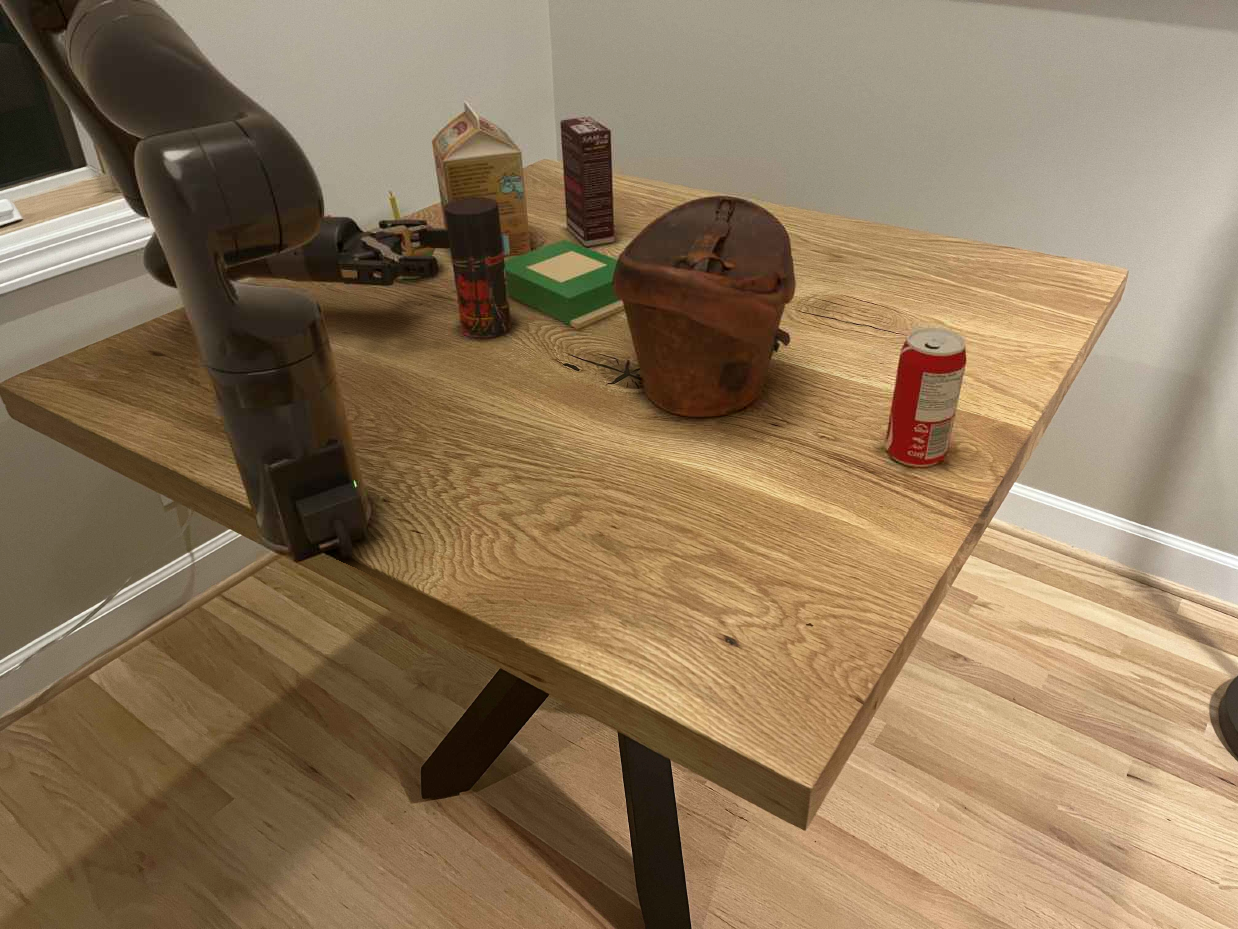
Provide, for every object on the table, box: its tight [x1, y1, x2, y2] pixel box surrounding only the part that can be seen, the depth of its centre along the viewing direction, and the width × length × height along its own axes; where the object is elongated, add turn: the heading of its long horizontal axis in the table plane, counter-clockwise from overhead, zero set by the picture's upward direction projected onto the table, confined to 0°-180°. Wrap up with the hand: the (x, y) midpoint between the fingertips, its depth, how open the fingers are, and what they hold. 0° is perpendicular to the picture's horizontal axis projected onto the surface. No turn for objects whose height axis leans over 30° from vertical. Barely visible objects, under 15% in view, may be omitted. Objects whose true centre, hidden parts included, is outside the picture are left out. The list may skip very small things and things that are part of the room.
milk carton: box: [431, 100, 532, 257], centre depth 126 cm, size 11×10×19 cm
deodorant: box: [444, 197, 512, 340], centre depth 105 cm, size 6×6×15 cm
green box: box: [504, 239, 625, 330], centre depth 116 cm, size 18×12×4 cm
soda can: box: [884, 326, 967, 468], centre depth 81 cm, size 6×6×12 cm
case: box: [612, 195, 797, 418], centre depth 90 cm, size 18×20×18 cm
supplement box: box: [559, 116, 615, 247], centre depth 129 cm, size 9×5×16 cm, turn 22°
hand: (447, 252), depth 104 cm, fingers open, 8 cm apart
